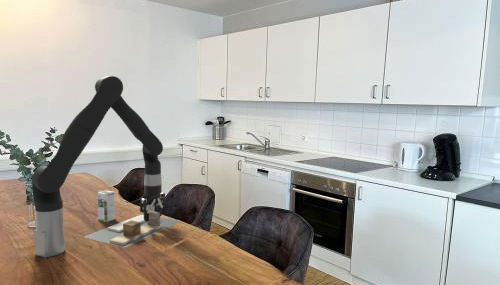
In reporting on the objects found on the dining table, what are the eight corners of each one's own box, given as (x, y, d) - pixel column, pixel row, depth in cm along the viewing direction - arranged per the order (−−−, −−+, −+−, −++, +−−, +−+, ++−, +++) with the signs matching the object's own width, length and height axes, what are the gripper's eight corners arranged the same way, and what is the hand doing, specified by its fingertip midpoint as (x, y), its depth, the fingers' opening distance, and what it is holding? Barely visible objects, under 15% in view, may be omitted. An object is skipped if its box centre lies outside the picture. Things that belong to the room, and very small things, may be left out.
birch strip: (122, 245, 147) (121, 228, 146) (109, 242, 150) (109, 225, 149) (161, 227, 169) (161, 212, 168) (150, 224, 172) (149, 210, 171)
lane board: (125, 249, 145) (125, 247, 145) (82, 238, 156) (82, 236, 156) (181, 223, 177) (181, 221, 177) (142, 215, 188) (142, 213, 188)
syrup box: (97, 221, 177) (96, 192, 176) (107, 218, 182) (106, 189, 181) (105, 223, 175) (104, 193, 173) (115, 220, 180) (114, 191, 178)
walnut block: (132, 237, 153) (131, 225, 153) (123, 235, 155) (122, 223, 155) (140, 233, 158) (140, 222, 157) (131, 231, 160) (131, 220, 159)
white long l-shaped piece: (119, 232, 161) (118, 216, 161) (107, 229, 164) (107, 214, 164) (156, 217, 183) (155, 203, 182) (145, 215, 186) (144, 201, 185)
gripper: (148, 187, 158) (148, 224, 160) (169, 181, 171) (169, 215, 173) (135, 185, 162) (135, 221, 163) (157, 179, 174) (157, 213, 176)
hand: (153, 218), depth 168 cm, fingers open, 8 cm apart
